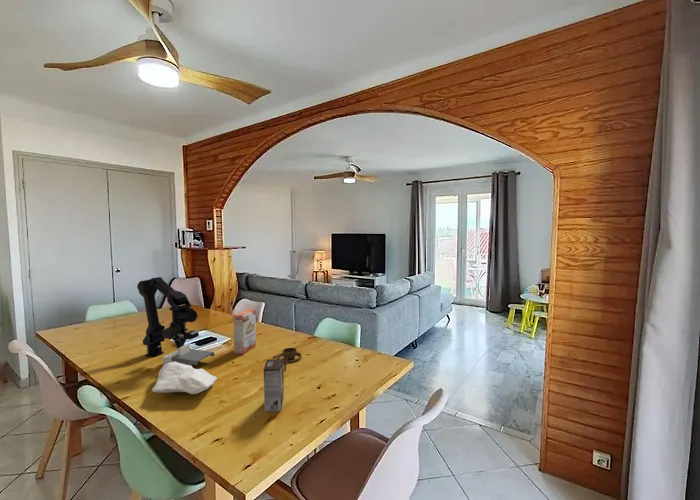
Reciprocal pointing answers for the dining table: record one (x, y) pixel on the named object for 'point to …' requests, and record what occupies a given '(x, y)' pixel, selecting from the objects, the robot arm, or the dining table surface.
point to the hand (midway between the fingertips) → (180, 350)
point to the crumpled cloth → (182, 379)
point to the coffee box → (273, 385)
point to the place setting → (288, 356)
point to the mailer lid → (190, 355)
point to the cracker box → (244, 331)
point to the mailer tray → (168, 358)
